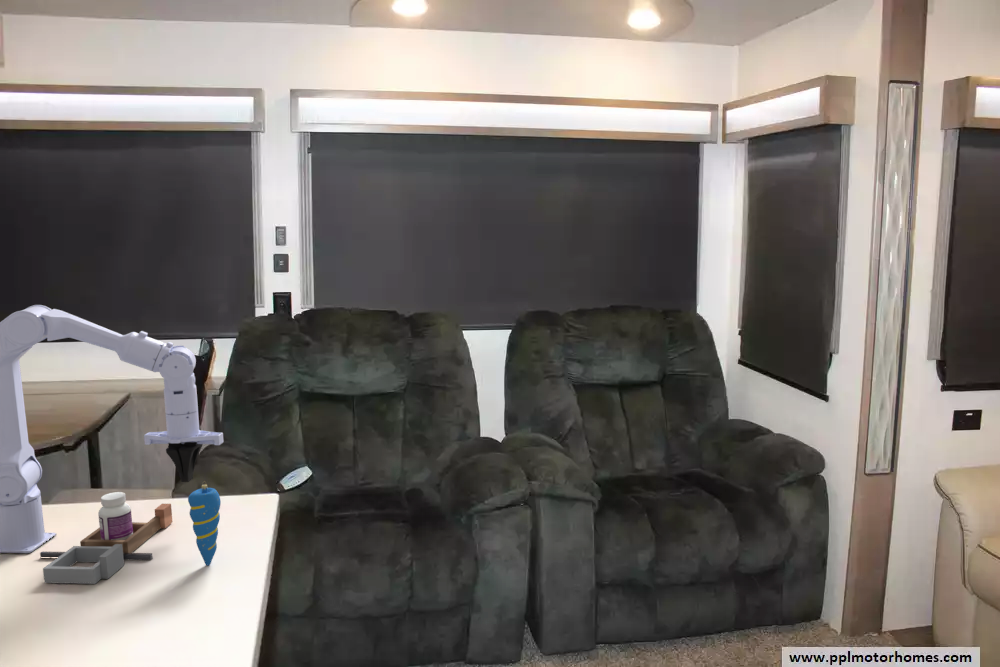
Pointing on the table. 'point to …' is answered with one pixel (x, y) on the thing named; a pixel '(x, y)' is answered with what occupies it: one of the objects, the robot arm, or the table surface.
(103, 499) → the pill bottle
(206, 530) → the ornament
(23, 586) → the table surface
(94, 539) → the frame
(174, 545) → the table surface
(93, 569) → the gray rectangular frame
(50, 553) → the rail
